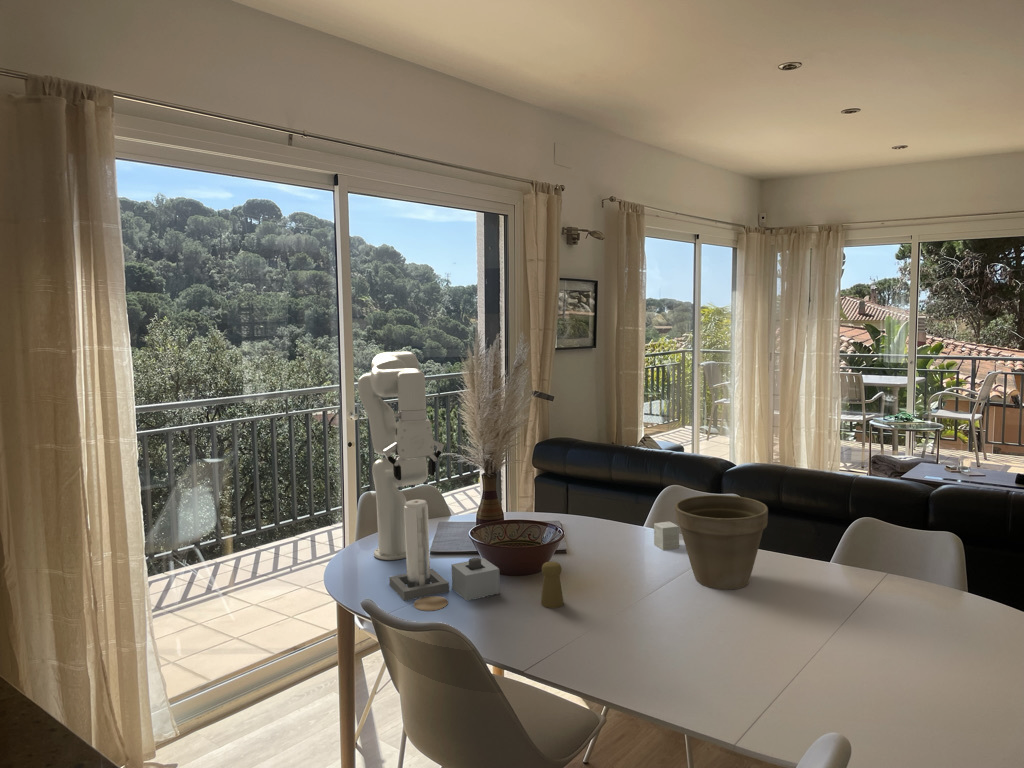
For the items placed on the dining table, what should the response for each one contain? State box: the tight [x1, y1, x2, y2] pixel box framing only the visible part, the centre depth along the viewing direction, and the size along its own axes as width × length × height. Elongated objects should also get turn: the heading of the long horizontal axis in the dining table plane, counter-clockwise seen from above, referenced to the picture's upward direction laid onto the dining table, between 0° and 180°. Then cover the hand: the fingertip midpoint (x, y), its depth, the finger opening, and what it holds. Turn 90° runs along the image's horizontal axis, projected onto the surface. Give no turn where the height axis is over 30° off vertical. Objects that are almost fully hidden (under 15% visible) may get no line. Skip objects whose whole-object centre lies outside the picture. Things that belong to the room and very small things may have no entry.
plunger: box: [468, 557, 482, 570], centre depth 201 cm, size 3×3×4 cm
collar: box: [388, 568, 450, 602], centre depth 205 cm, size 13×13×2 cm
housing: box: [451, 557, 501, 601], centre depth 202 cm, size 10×10×7 cm
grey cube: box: [653, 521, 680, 551], centre depth 235 cm, size 6×6×7 cm
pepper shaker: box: [540, 561, 565, 609], centre depth 192 cm, size 6×6×11 cm
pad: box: [413, 595, 449, 612], centre depth 194 cm, size 9×9×1 cm
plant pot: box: [674, 494, 769, 590], centre depth 205 cm, size 25×25×22 cm
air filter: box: [404, 499, 431, 588], centre depth 204 cm, size 6×6×25 cm
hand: (415, 477), depth 201 cm, fingers open, 9 cm apart
